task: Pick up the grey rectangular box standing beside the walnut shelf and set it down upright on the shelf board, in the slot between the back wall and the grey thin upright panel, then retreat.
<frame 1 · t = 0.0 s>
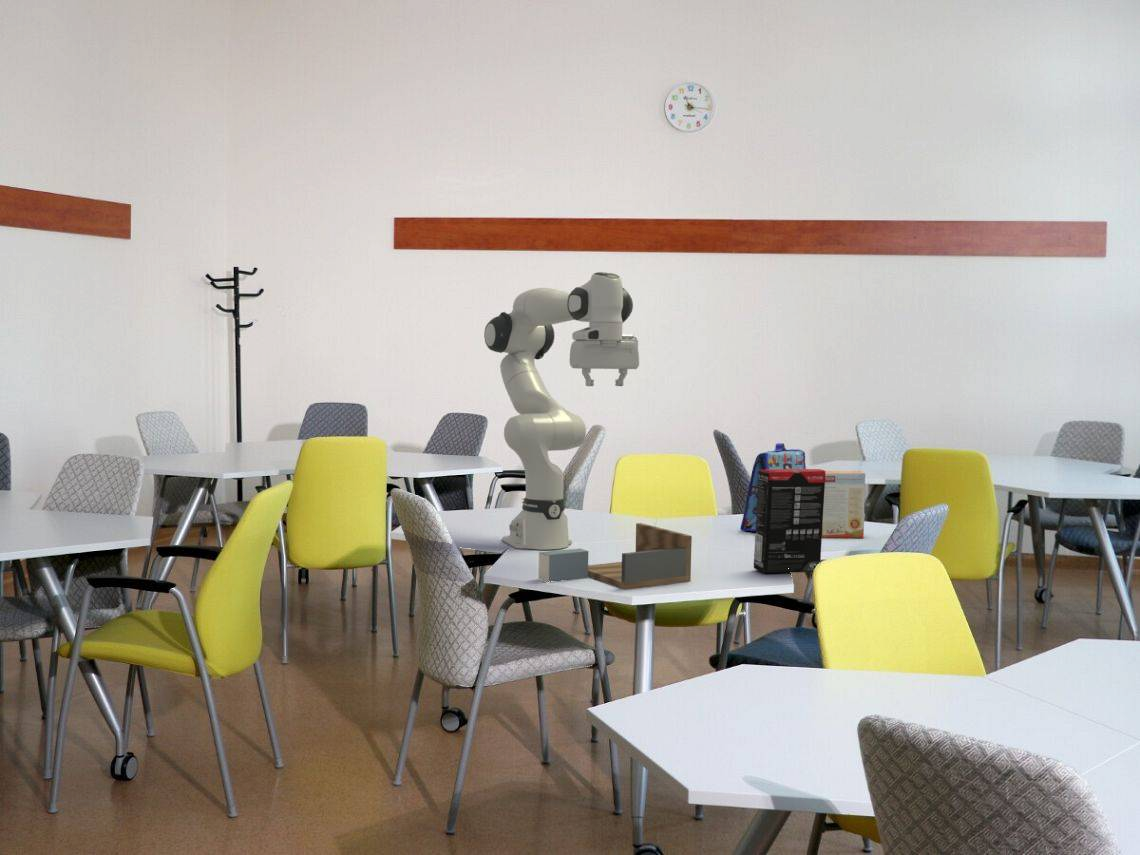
hand: (604, 386, 278), 48 cm above the table, fingers open, 8 cm apart
cracker box: (839, 537, 333), on the table
graphics card box: (787, 572, 277), on the table
lunch bag: (776, 531, 343), on the table
grey thin upright panel: (654, 584, 257), resting on shelf
shelf: (632, 576, 267), on the table
grey rectangular box: (563, 579, 263), on the table
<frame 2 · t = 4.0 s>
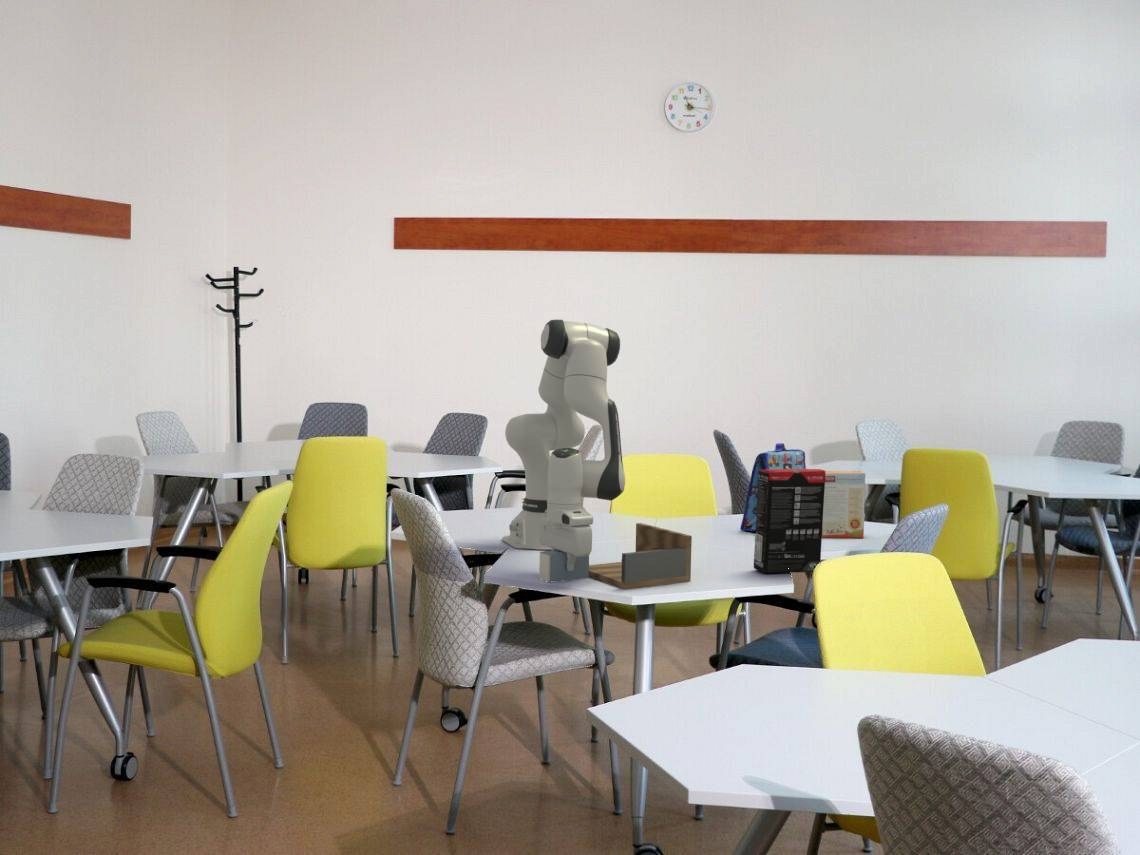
hand: (563, 568, 263), 3 cm above the table, fingers closed on grey rectangular box, 4 cm apart
grey rectangular box: (564, 578, 263), on the table, touching gripper
everything else where it was.
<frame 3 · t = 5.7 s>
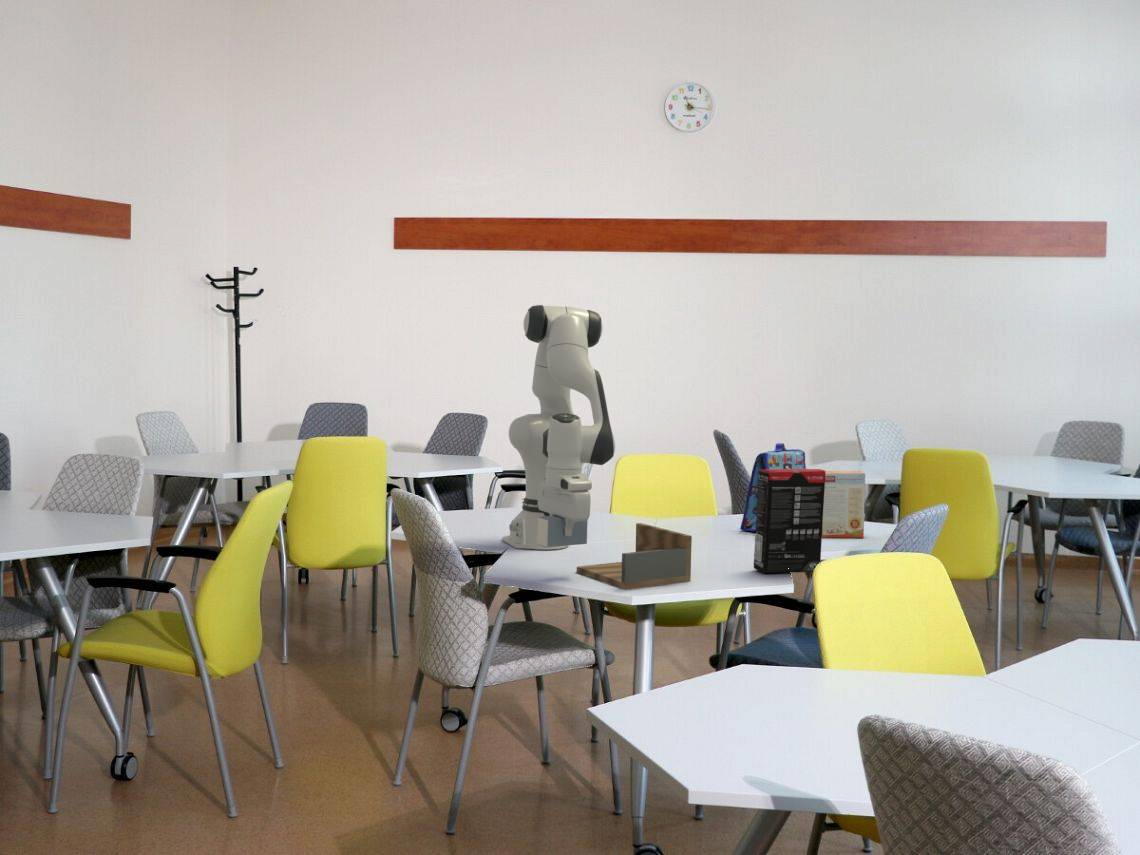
hand: (561, 533, 262), 11 cm above the table, fingers closed on grey rectangular box, 4 cm apart
grey rectangular box: (562, 544, 263), point 9 cm above the table, touching gripper
everything else where it was.
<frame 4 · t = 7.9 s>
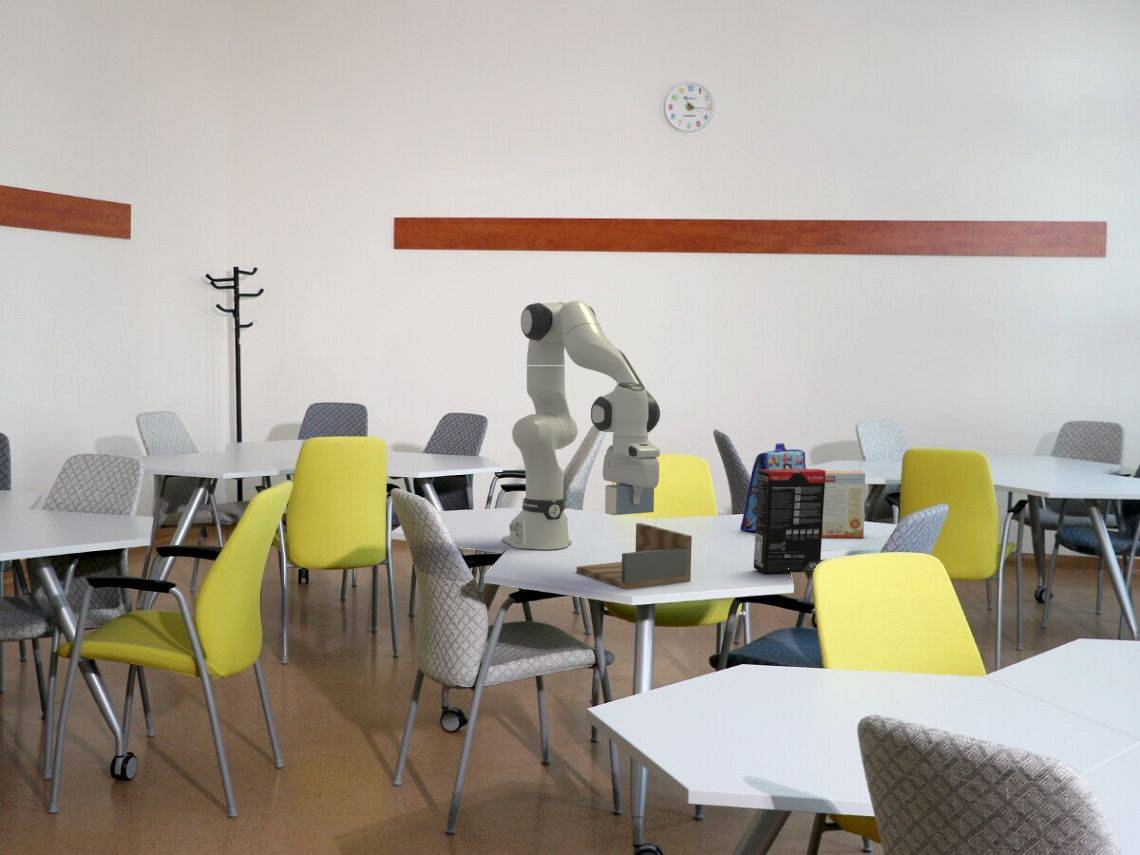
hand: (629, 502, 264), 19 cm above the table, fingers closed on grey rectangular box, 4 cm apart
grey rectangular box: (629, 512, 264), point 17 cm above the table, touching gripper
everything else where it was.
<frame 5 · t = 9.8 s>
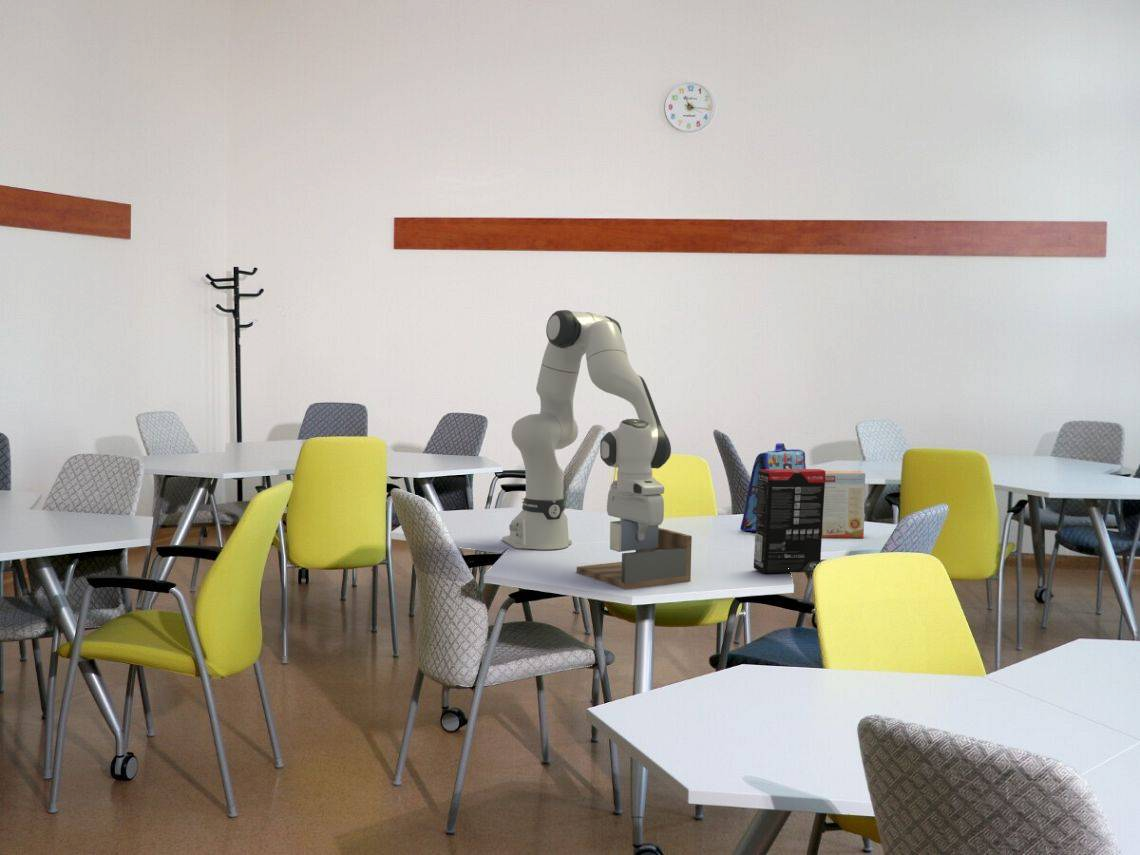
hand: (633, 538, 264), 10 cm above the table, fingers closed on grey rectangular box, 4 cm apart
grey rectangular box: (634, 548, 265), point 8 cm above the table, touching gripper
everything else where it was.
when the fingers open (6 cm above the table, at t = 11.4 s): grey rectangular box drops 1 cm, resting on shelf.
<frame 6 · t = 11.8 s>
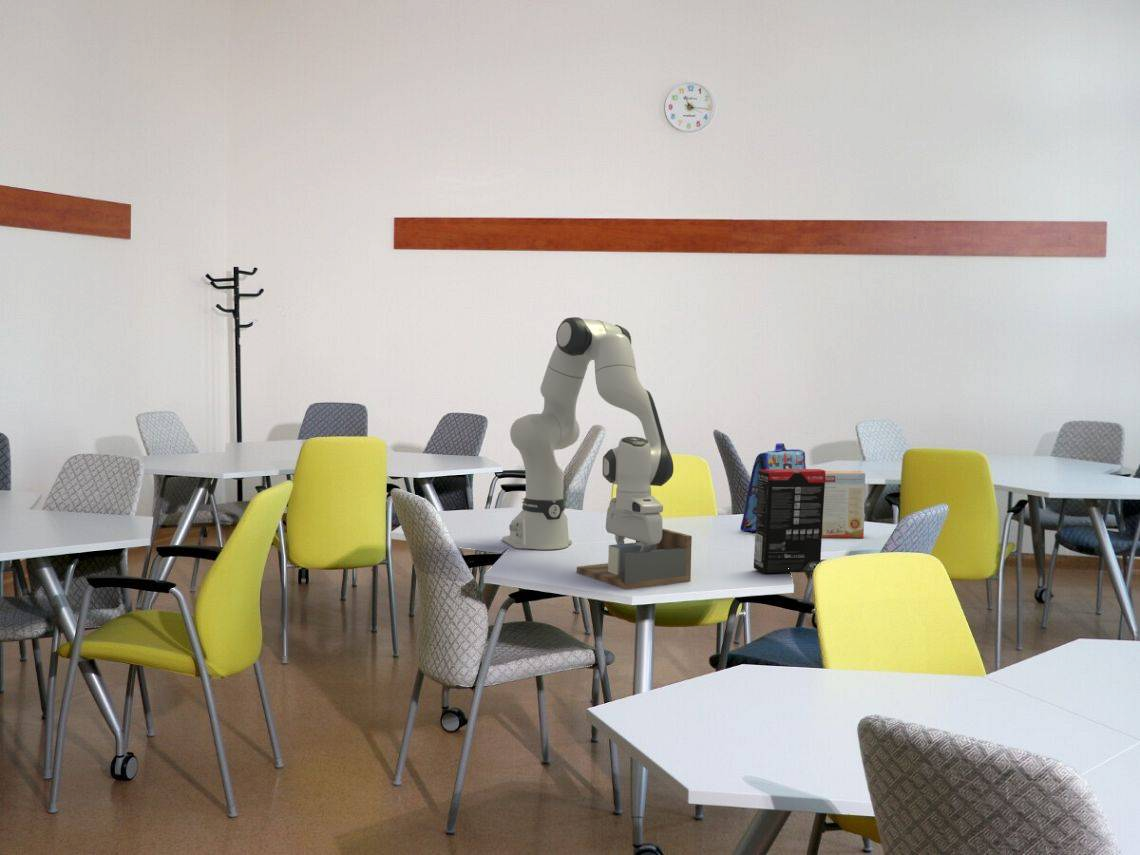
hand: (632, 556, 265), 6 cm above the table, fingers open, 8 cm apart
grey rectangular box: (632, 571, 265), point 1 cm above the table, touching shelf
everything else where it was.
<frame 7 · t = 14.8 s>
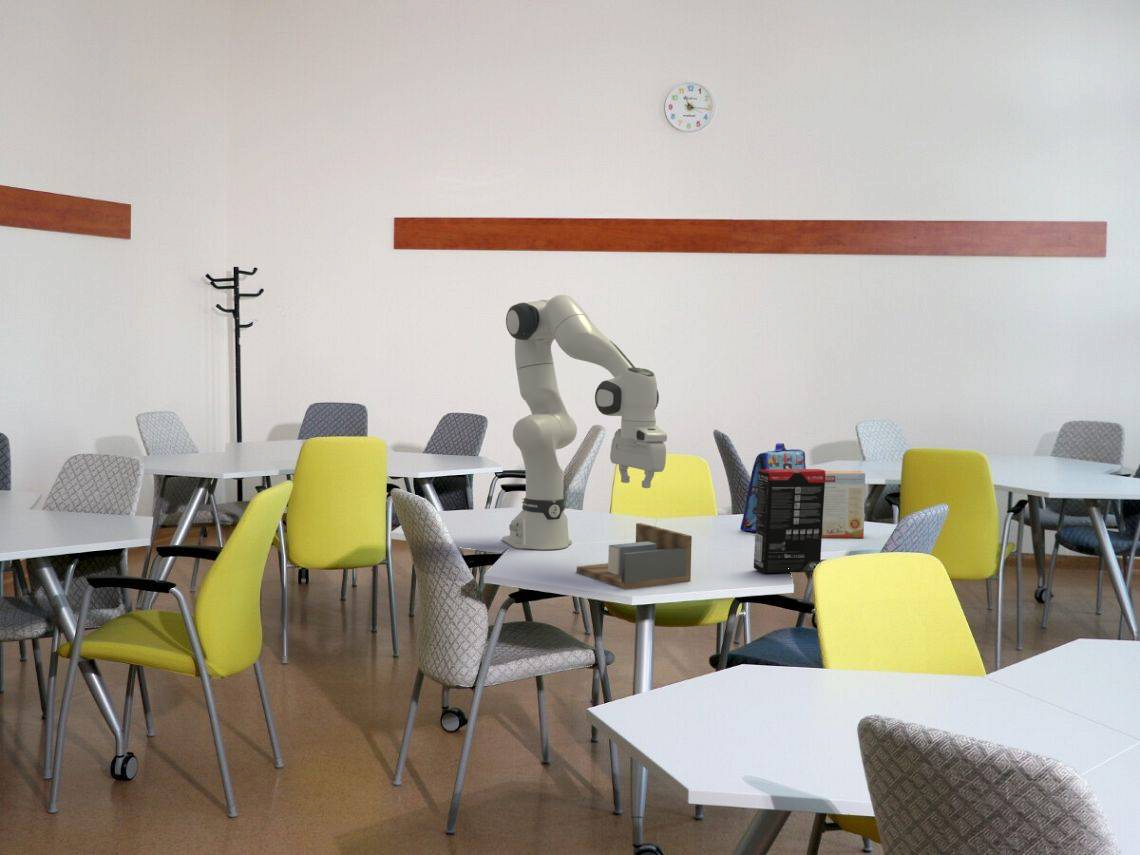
hand: (635, 485, 269), 23 cm above the table, fingers open, 8 cm apart
nothing on the table moved.
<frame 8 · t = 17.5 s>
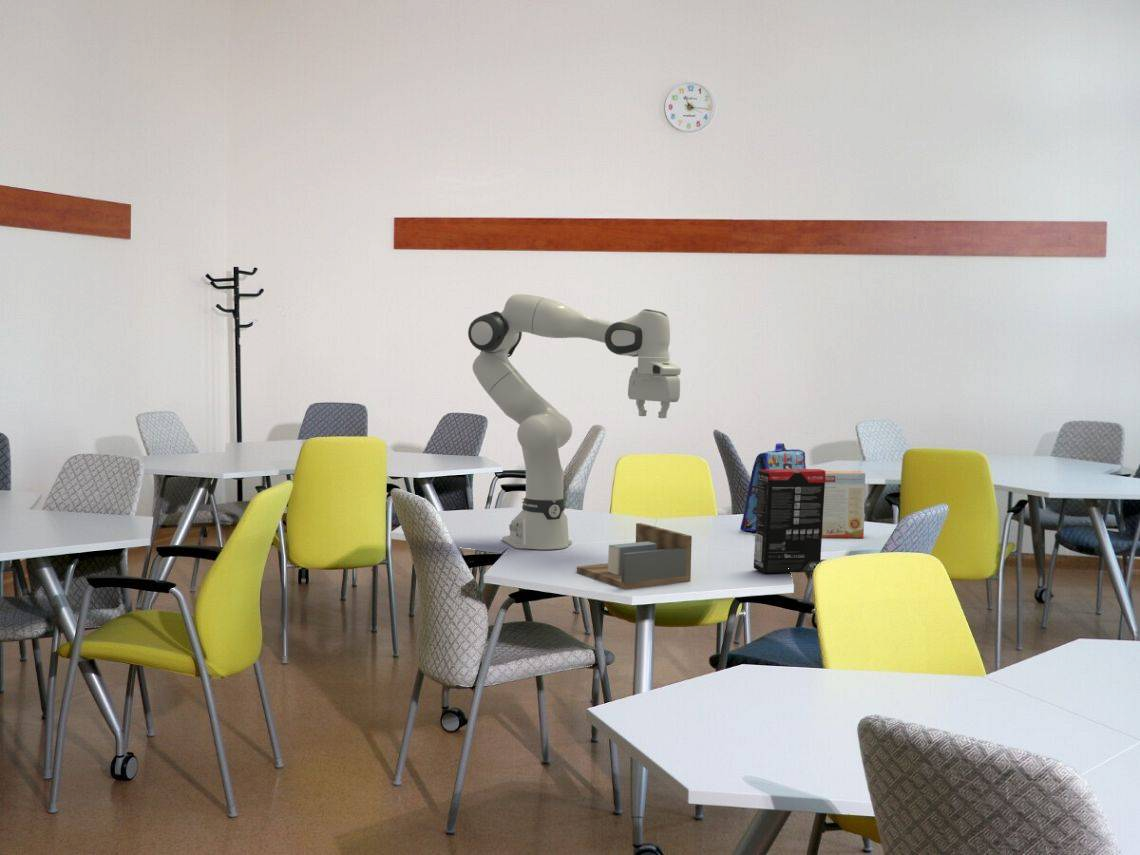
hand: (652, 417, 293), 39 cm above the table, fingers open, 8 cm apart
nothing on the table moved.
at the end: grey rectangular box 0.6 cm from the target spot on the shelf, point 1.5 cm above the shelf's base; grey rectangular box 9.3 cm from the grey thin upright panel (horizontally); grey rectangular box tilted 0° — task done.
